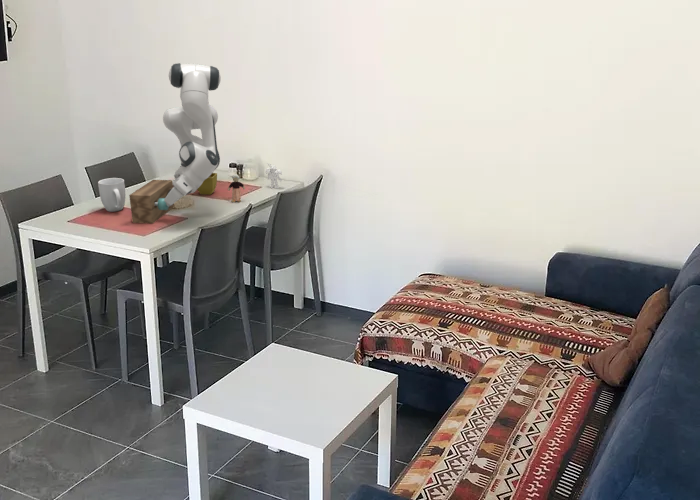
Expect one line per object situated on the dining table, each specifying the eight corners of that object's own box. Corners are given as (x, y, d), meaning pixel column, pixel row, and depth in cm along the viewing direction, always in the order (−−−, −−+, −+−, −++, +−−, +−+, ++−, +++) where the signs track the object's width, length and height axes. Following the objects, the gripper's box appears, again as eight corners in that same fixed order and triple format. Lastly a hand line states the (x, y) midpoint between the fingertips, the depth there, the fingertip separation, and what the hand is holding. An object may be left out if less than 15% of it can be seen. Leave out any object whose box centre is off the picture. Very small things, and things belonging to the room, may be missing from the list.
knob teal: (169, 208, 321) (168, 196, 319) (165, 211, 316) (163, 200, 315) (150, 207, 322) (149, 196, 321) (145, 211, 318) (144, 199, 316)
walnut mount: (174, 206, 340) (172, 180, 335) (152, 223, 316) (150, 195, 312) (155, 205, 341) (152, 179, 337) (132, 222, 318) (129, 195, 314)
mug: (133, 212, 331) (130, 183, 327) (108, 217, 326) (104, 187, 321) (122, 204, 343) (119, 176, 339) (98, 208, 337) (94, 180, 333)
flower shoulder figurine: (264, 187, 367) (263, 163, 363) (269, 185, 371) (267, 161, 366) (280, 189, 363) (278, 165, 359) (284, 187, 366) (283, 163, 362)
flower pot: (218, 191, 362) (217, 172, 359) (214, 196, 354) (212, 177, 351) (200, 190, 363) (199, 172, 360) (195, 195, 355) (194, 177, 352)
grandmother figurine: (230, 203, 343) (228, 176, 338) (228, 201, 346) (226, 174, 342) (246, 201, 345) (245, 174, 341) (244, 199, 349) (242, 172, 344)
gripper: (191, 170, 322) (171, 192, 327) (174, 183, 303) (153, 206, 308) (202, 181, 323) (182, 202, 328) (185, 194, 304) (164, 216, 309)
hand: (168, 204), depth 318 cm, fingers closed, pressing on knob teal
